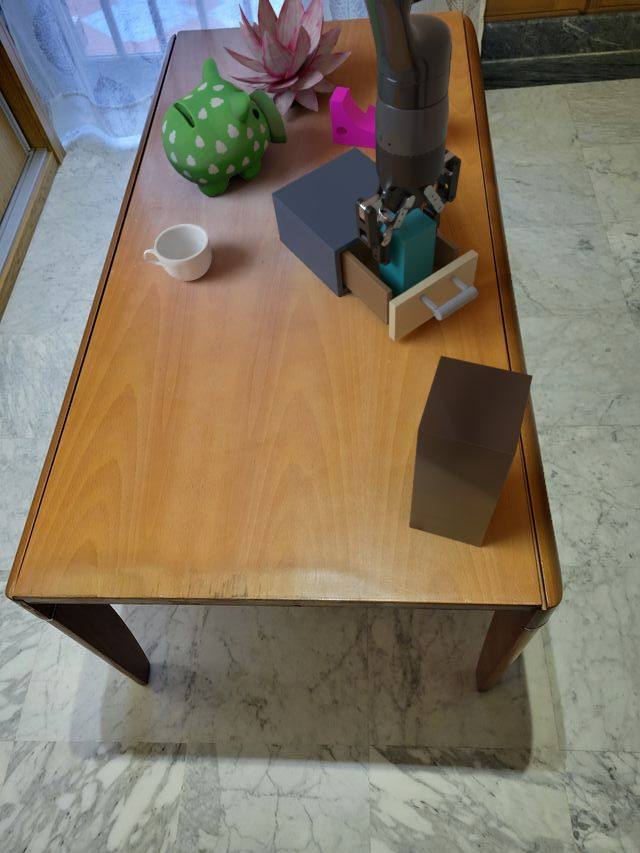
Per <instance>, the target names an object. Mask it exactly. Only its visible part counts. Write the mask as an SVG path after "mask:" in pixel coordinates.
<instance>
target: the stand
mask: <svg viewBox="0 0 640 853" xmlns="http://www.w3.org/2000/svg"><path fill="white" fill-rule="evenodd" d="M532 380H533V375H531V374H527V373H523V372H517V371H513V370H508V369H504V368H499V367H495V366H491V365H486V364H482V363H476V362H472V361H469V360H468V361H467V360H463V359H458V358H454V357H449V356H446V355H445V356H444V355H440V356H439V359H438V363H437V366H436V369H435V372H434V376H433V379H432V382H431V385H430V389H429V391H428V395H427V399H426V401H425V405H424V408H423V412H422V414H421V418H420V421H419V425H418V428H417V431H416V433H417V434H416V443H415V445H416V446H415V456H414V467H413V478H412V479H413V480H412V490H411V500H410V502H411V503H410V513H409V523H408V524H409V525H408V526H409V528H411V529H415V530H418V531H421V532H426V533H428V534H432V535H436V536H439V537H442V538H445V539H450V540H452V541H456V542H461V543H464V544H467V545H471V546H474V547H477V548H481V546H482V543H483V541H484V538H485V535H486V533H487V530H488V528H489V525H490V522H491V520H492V517H493V515H494V512H495V509H496V507H497V505H498V502H499V499H500V496H501V494H502V491H503V489H504V486H505V483H506V480H507V478H508V475H509V473H510V470H511V467H512V464H513V462H514V459H515V456H516V455H517V454H516V453H517V449H518V444H519V440H520V436H521V431H522V427H523V423H524V417H525V414H526V408H527V404H528V401H529V400H528V399H529V395H530V391H531V387H532V386H531V385H532Z"/></svg>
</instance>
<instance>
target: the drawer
mask: <svg viewBox="0 0 640 853" xmlns="http://www.w3.org/2000/svg"><path fill="white" fill-rule="evenodd" d="M459 254H460V246H459V245H457V244H456V243H455V242H454V241H453V240H451V239H450V238H448V237H447V236H446V235H445V234H443V232H442V231H440V230H439V229H438V230H437V235H436V236H435V247H434V258H433V269H432V275H431V276H429V277H428V278H426V279H425V280H423V281H421V282H420V283H418V284H417V285H415V286H413V287H412V288H410V289H409V290H407V291H406V292H404V293H402V294H401V295H399V296H398V297H395V296H394V295H393V294H392V290H391V289H390V288H389V287H388V286H387V285H385V284H384V283H383V282H382V281H381V280H380V278H379V262H378V261H377V260H376V259H375V258H374V257H373V249H370V248H369V247H368V246H367V245H366V244H365V243H364V242H362V241H359V242H357V243H356V244H354V245H352V246H351V247H349V248H347V249H346V250H344V251H342V252H341V253H340V262H341V273H342V283H343V284H344V285H345V286H346V287H347V288H348V289H350V290H349V291H350V292H352V293H353V295H355V296H356V297H357V298H358V299H359V300H360V301H361V302H362V303H363V304H364V305H365V306H366V307H367V309H369V310H370V311H371V312H372V313H373V314H375V315H376V317H378V319H380V320H381V322H383V323H384V324H385V325H386V326H388V337H389V338H390V339H391V340H392V341H393V342H394V343H395V342H397V341H399V340H401V339H402V338H403V337H405V336H406V335H407V334H409V333H411V332H413V331H414V330H415V329H417V328H418V327H419V326H421V325H423V324H424V323H426V322H427V321H429V320H430V319H432V318H434V317H435V319H436V320H437V321H443V320H444V319H446V318H448V317H449V316H451V315H452V314H453V313H454V312H456V311H458V310H459V309H461V308H462V307H464V306H465V305H467V304H469V303H470V302H471V301H473V300H474V299H476V298H478V297H479V292H478V289H477V288H476V287H475V286H474V282H475V277H476V271H477V266H478V260H479V253H478V252H476V251H475V250H474V249H470V250H468V251H466V253H464V254H462V255H461V256H460V255H459Z"/></svg>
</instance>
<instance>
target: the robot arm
mask: <svg viewBox="0 0 640 853" xmlns="http://www.w3.org/2000/svg"><path fill="white" fill-rule="evenodd" d="M363 1H364V4H365V8H366V11H367V16H368V20H369V24H370V28H371V33H372V36H373V42H374V46H375V52H376V100H375V105H374V106H375V163H376V171H377V174H378V178H379V186H378V189H377V191H376V195H375V196H373V197H372V198H370V199H369V200H367V201H365V200H364V199H363V198H359V199H357V201H356V202H355V211H356V222H357V233H358V238H359V239H360V240H361V241H362V242H364V243H365V244H366V245H367V246H368V247H369V248H370V249H373V257H374V258H375V259H376V260H377V261H378V262H379V263H380V264H383V265H384V266H386V265H388V264H390V263H391V243H390V240H391V238H392V236H393V233H394V231H395V230H396V229H399V228H400V226H401V224H402V222H403V220H404V218H405V216H406V215H408V214H409V213H410V212H411V211H412V210H414V209H417V208H419V207H421V206H422V212H423V213H425V214H426V215H427V216H429V217H430V218H431V219H432V220H434V221H435V222H436V223H437V224H436V235H437V230H438V231H439V228H440V226H441V214H442V212H443V211H444V210H445V204H447V203H452V202H454V201H455V200H456V198H457V194H458V188H459V187H458V185H459V179H460V173H461V166H462V158H460V157H458V156H457V154H455V153H454V152H452V151H450V150H448V148H446V145H447V135H448V125H449V114H450V100H449V98H450V97H449V86H450V76H451V67H452V66H451V63H452V55H453V54H452V52H453V37H452V32H451V28H450V26H449V25H448V24H447V22H446V21H445V20H443V19H442V18H440V17H439V16H436V15H433V14H429V13H411V10H412V6H413V5H415V4H417V3H420V2H422V1H424V0H363ZM434 187H435V188H434ZM424 203H425V204H426V205H425V204H424ZM387 208H388V209H389V210H390V211H391V212H392V213H394V214H395V217H394V219H393V218H392V217H391V216H390V215H388V213H387ZM383 224H385V225H386V229H385V231H384V233H383V232H382V231H381V228H382V226H383Z"/></svg>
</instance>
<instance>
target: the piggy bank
mask: <svg viewBox="0 0 640 853" xmlns="http://www.w3.org/2000/svg"><path fill="white" fill-rule="evenodd" d="M201 78H202V79H201V80H202V82H200V83H199V84H198V85H197V86H196V87H195V88H194V89H193V90H192V91H191V92H189V93H188V94H187V95H186V96H184V97H182V98H180V99H178V100H176V101H174V102H173V103H172V104H171V105H170V106H169V108H168V109H167V111H166V112H165V114H164V117H163V119H162V122H161V134H160V135H161V142H162V147H163V150H164V153H165V156H166V159H167V160H168V162H169V164H170V165H171V167H172V168H173V170H175V172H176V173H177V174H179V175H180V176H181V177H183V178H184V179H185V180H187V181H189V182H190V183H193V184H196V185H197V187H198V189H199V191H200V192H201V193H203V195H205V196H207V197H209V198H211V197H215V196H218V195H220V194H223V193H224V192H225V191H226V190H227V188H228V186H229V181H230V179H231V178H232V177H234V176H236V175H237V174H238V175H239V176H240V177H241V178H242V179H243V180H245V181H246V182H250V181H252V180H254V179H256V178H257V177H258V176H259V174H260V171H261V168H262V158H263V155H264V154H265V153H266V151H267V149H268V148H269V146H270V145H271V144H272V145H273V144H275V145H281V144H286V143H287V141H288V135H287V130H286V127H285V126H286V125H285V122H284V120H283V116H281V114H280V112H279V110H278V108H277V106H276V102H273V99H272V97H271V98H270V97H269V96H268V95H267V94H266V93H265V92H264V91H265V90H262V89H261V88H260V89H259V88H256V89H255V90H254V91H253V92H250V93H249V94H248V93H247V92H246V91H245V90H244V89H243V88H242V87H240V86H238V85H237V84H234V82H230V81H229V80H226V79H224V78H222V77H221V75H220V71H219V69H218V65H217V63H216V60H215V59H214V58H213V57H209V58H207V59H205V60H204V62H203V64H202V68H201Z"/></svg>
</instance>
